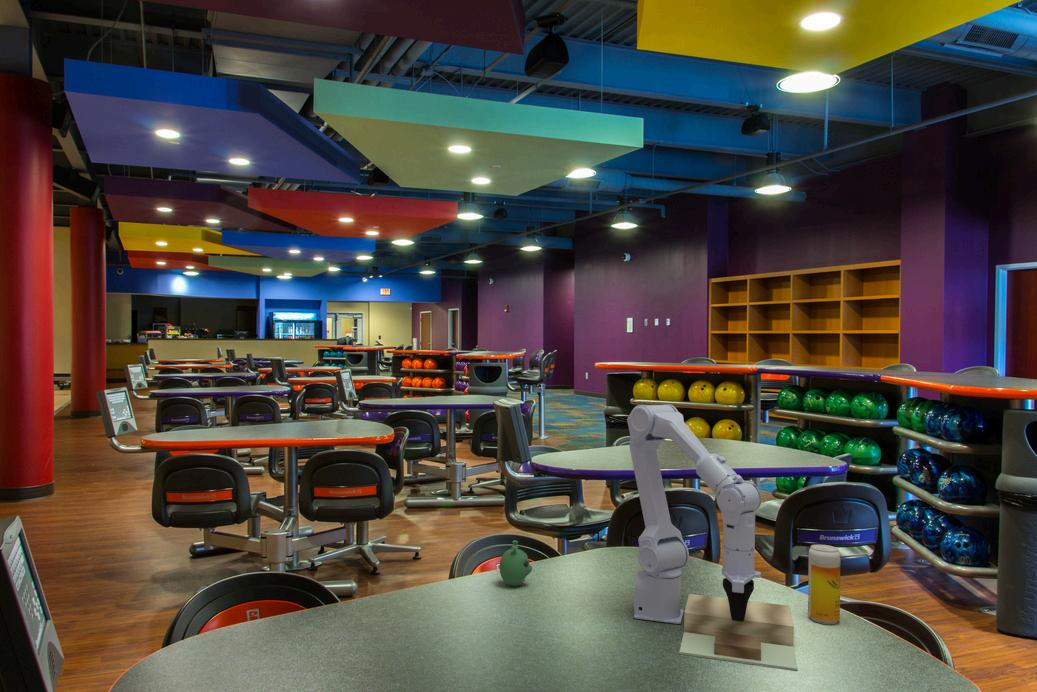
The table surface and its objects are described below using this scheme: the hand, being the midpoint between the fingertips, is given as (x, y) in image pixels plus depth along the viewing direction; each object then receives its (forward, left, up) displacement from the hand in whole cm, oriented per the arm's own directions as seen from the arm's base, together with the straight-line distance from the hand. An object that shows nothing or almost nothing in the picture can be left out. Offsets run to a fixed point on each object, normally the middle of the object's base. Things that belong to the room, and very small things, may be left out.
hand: (737, 619), depth 132 cm
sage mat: (0, -3, -5) cm, 6 cm away
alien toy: (-50, +18, -5) cm, 54 cm away
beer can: (+17, +20, -5) cm, 27 cm away
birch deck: (0, +8, -5) cm, 10 cm away
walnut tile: (0, -4, -2) cm, 5 cm away
